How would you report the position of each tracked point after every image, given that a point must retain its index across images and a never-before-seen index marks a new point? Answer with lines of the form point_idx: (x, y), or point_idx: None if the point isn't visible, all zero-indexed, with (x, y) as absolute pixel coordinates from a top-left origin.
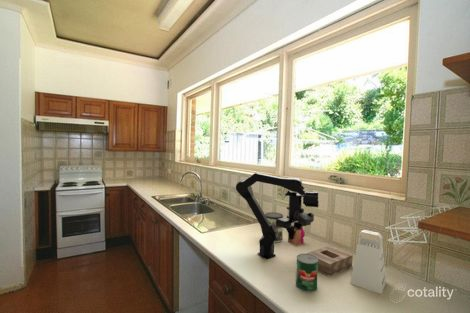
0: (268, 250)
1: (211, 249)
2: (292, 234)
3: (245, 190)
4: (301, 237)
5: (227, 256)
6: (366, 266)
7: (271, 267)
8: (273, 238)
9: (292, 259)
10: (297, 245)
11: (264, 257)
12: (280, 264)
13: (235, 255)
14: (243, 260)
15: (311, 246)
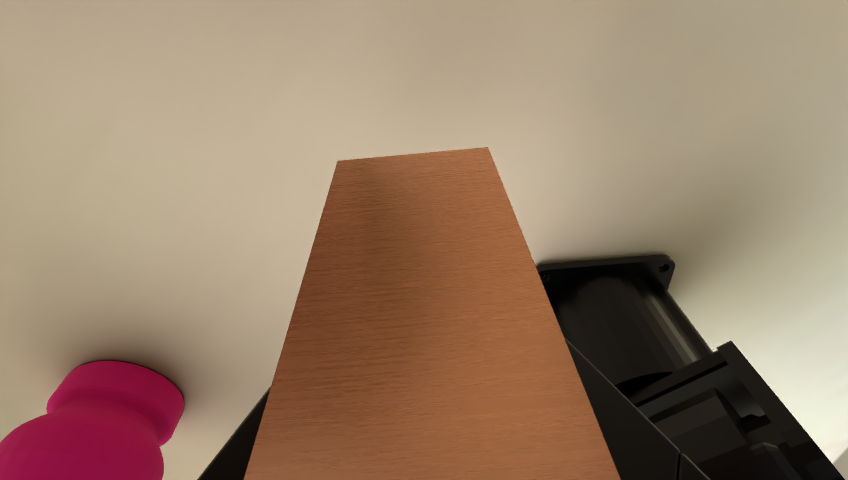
0: (658, 321)
1: None
2: (628, 416)
3: None
4: (70, 418)
5: (840, 386)
6: None
7: (782, 97)
8: (749, 442)
9: (425, 144)
10: (442, 152)
11: (668, 276)
12: (641, 109)
13: (784, 380)
14: (824, 307)
15: (13, 290)
